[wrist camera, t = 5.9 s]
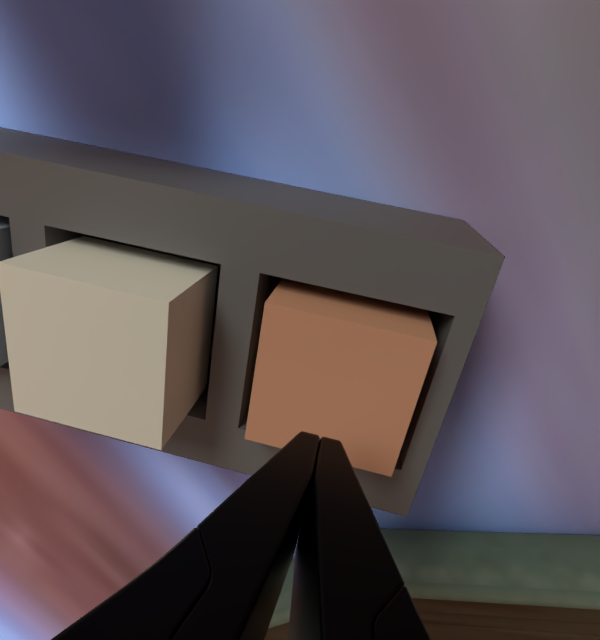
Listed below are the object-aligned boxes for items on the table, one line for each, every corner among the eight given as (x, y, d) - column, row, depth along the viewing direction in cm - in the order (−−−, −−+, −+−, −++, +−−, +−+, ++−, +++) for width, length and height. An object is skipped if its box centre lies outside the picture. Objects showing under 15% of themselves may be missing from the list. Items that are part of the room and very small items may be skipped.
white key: (218, 265, 12) (169, 302, 9) (206, 387, 13) (161, 450, 11) (83, 236, 12) (-4, 262, 9) (87, 358, 14) (14, 411, 11)
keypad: (464, 220, 14) (504, 256, 9) (399, 417, 17) (407, 516, 13) (-22, 122, 16) (-188, 113, 11) (2, 320, 19) (-120, 376, 14)
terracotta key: (424, 298, 12) (437, 341, 10) (388, 411, 14) (391, 476, 11) (289, 268, 13) (265, 302, 10) (270, 382, 14) (244, 438, 11)
